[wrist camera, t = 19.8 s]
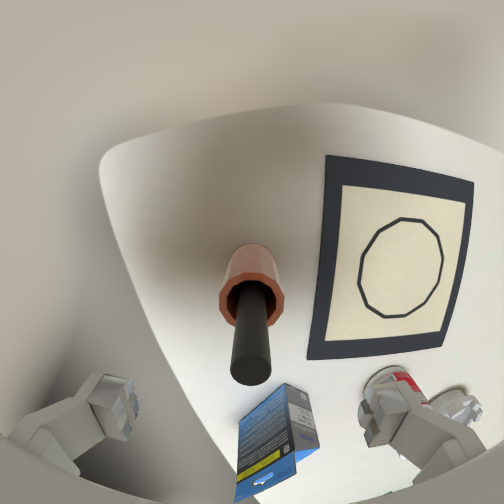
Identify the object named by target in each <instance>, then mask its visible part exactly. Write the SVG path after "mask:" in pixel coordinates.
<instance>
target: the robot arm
mask: <svg viewBox="0 0 504 504" xmlns="http://www.w3.org/2000/svg"><path fill="white" fill-rule="evenodd" d="M133 390H134V385H133V382H132V381H131V380H129V379H125V378H121V377H116V376H112V375H108V374H103V373H99V372H96V371H94V372H92V373H91V374H90V375H89V377H88V378H87V380H86V381H85V382H84V384H83V385H82V387H81V388H80V389H79V391H78V392H77V394H76V395H75V396H74V398H72V397H69V398H66V399H64V400H62V401H60V402H57V403H55V404H53V405H50V406H48V407H45V408H43V409H41V410H38V411H36V412H33V413H31V414H29V415H26V416H23V418H22V419H21V420H20V421H19V423H18V424H17V425H16V427H15V428H14V429H13V431H12V432H11V433H10V435H9V436H8V438H7V437H5V436H4V435H2V434H1V433H0V504H165V503H161V502H156V501H152V500H147V499H143V498H139V497H135V496H132V495H129V494H125V493H122V492H118V491H116V490H113V489H110V488H107V487H104V486H101V485H98V484H96V483H93V482H90V481H88V480H85V479H83V478H81V477H79V475H80V470H79V469H78V468H77V466H76V465H75V464H74V463H73V461H72V460H74V459H75V458H77V457H78V456H80V455H81V454H82V453H84V452H85V451H87V450H88V449H90V448H91V447H93V446H94V445H95V444H97V443H98V442H100V441H101V440H103V439H104V438H105V436H107V437H111V438H114V439H118V440H122V441H127V439H128V437H129V434H130V432H131V430H132V427H131V425H130V423H131V422H133V421H135V420H136V418H137V415H138V410H139V402H138V398H137V396H136V395H135V394H134V393H133ZM364 396H365V399H364V400H363V401H362V402H361V403H360V405H359V408H358V421H359V424H360V426H361V427H363V428H364V429H366V431H365V433H364V437H365V440H366V442H367V445H368V448H371V447H376V446H381V445H386V444H389V445H390V446H391V447H393V448H394V449H395V450H396V451H398V452H399V453H400V454H401V455H403V456H404V457H405V458H406V459H408V460H409V461H410V462H412V463H413V464H414V465H416V466H417V467H418V468H420V469H421V471H420V472H419V473H418V474H417V475H416V477H415V478H414V479H413V481H412V482H413V484H414V485H413V486H411V487H408V488H405V489H402V490H399V491H396V492H393V493H389V494H386V495H382V496H379V497H375V498H371V499H367V500H363V501H359V502H354V503H350V504H504V440H503V441H501V442H500V443H498V444H496V445H495V446H493V447H492V448H490V449H488V450H486V448H485V447H484V445H483V444H482V442H481V441H480V439H479V438H478V436H477V435H476V433H475V432H474V430H473V429H471V428H469V427H467V426H465V425H463V424H461V423H459V422H457V421H455V420H453V419H450V418H448V417H446V416H444V415H442V414H440V413H438V412H436V411H434V410H432V409H430V408H428V407H423V406H422V404H421V403H420V401H419V399H418V398H417V396H416V395H415V393H414V392H413V390H412V389H411V387H410V386H409V384H408V383H407V382H406V381H405V380H402V381H397V382H392V383H386V384H380V385H373V386H368V387H367V388H366V389H365V392H364Z"/></svg>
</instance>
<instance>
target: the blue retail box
mask: <svg viewBox="0 0 504 504" xmlns="http://www.w3.org/2000/svg"><path fill="white" fill-rule="evenodd" d="M319 448H320V444H319V440H318V435H317V431H316V426H315V422H314V418H313V414H312V410H311V405H310V401H309V397H308V394H306V393H304V392H302V391H300V390H298V389H295V388H293V387H291V386H289V385H287V384H284V385H282V386H281V387H280V388H279V389H278V390H277V391H276V392H275V393H273V394H272V395H271V396H270V397H269V398H268V399H267V400H265V401H264V402H263V403H262V404H261V405H260V406H258V407H257V408H256V409H255V410H254V411H252V412H251V413H250V414H249V415H248V416H246V417H245V418H244V419H243V420H241V421H240V422H239V436H238V462H237V487H236V494H235V500H234V503H237V502H239V501H241V500H243V499H246V498H248V497H251V496H253V495H255V494H258V493H260V492H262V491H264V490H266V489H268V488H270V487H272V486H274V485H276V484H278V483H280V482H282V481H284V480H286V479H288V478H290V477H292V476H294V475H295V474H296V463H297V462H299V461H300V460H302V459H304V458H305V457H307V456H308V455H310V454H311V453H313V452H314V451H316V450H317V449H319ZM264 481H265V482H264ZM259 482H264V484H260V483H259ZM254 483H259V484H257V485H253V484H254Z"/></svg>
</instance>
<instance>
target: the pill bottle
mask: <svg viewBox="0 0 504 504" xmlns="http://www.w3.org/2000/svg"><path fill="white" fill-rule="evenodd" d="M402 380H405V381H406V382H407V383H408V384H409V386H410V387H411V389H412V390H413V392H414V393H415V395H416V396H417V398H418V399H419V401H420V403H421V404H422V406H423V407H428V408H430V409H432V410H434V409H433V408H432V406H431V405H430V403H429V402H428V400H427V399H426V398H425V396H424V395H423V393H422V392H421V390H420V389H419V388H418V386H417V385H416V383H415V382H414V381H413V379H412V378H411V376H410V375H409V374H408V372H407V371H406V370H405V369H403V368H401V367H390V368H386V369H384V370H382V371H380V372H379V373H377V374H376V375H375V376H374V377H373V378H372V379H371V380H370V381H369V383H368V384H367V386H366V388H367V387H368V386H373V385H380V384H386V383H392V382H397V381H402ZM366 388H365V389H366ZM388 445H389V444H388ZM397 453H398V455H399V457H400V458H401V459H402V460H408V459H406V458H405V457H404V456H403V455H401V454H400V453H399V452H398V451H397Z"/></svg>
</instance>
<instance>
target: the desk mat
mask: <svg viewBox="0 0 504 504" xmlns="http://www.w3.org/2000/svg"><path fill="white" fill-rule="evenodd" d="M473 196H474V182H470V181H467V180H463V179H459V178H455V177H451V176H447V175H443V174H439V173H434V172H430V171H425V170H421V169H416V168H411V167H406V166H400V165H395V164H389V163H383V162H377V161H370V160H363V159H356V158H348V157H340V156H331V155H326V170H325V192H324V209H323V224H322V237H321V248H320V259H319V269H318V278H317V287H316V296H315V304H314V312H313V319H312V326H311V333H310V340H309V346H308V353H307V360H327V359H344V358H358V357H369V356H379V355H388V354H396V353H404V352H411V351H417V350H424V349H430V348H436V347H441V346H442V344H443V341H444V339H445V336H446V333H447V330H448V327H449V323H450V320H451V317H452V314H453V310H454V307H455V303H456V299H457V296H458V292H459V288H460V283H461V279H462V275H463V270H464V265H465V260H466V254H467V248H468V242H469V235H470V228H471V219H472V209H473Z"/></svg>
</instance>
